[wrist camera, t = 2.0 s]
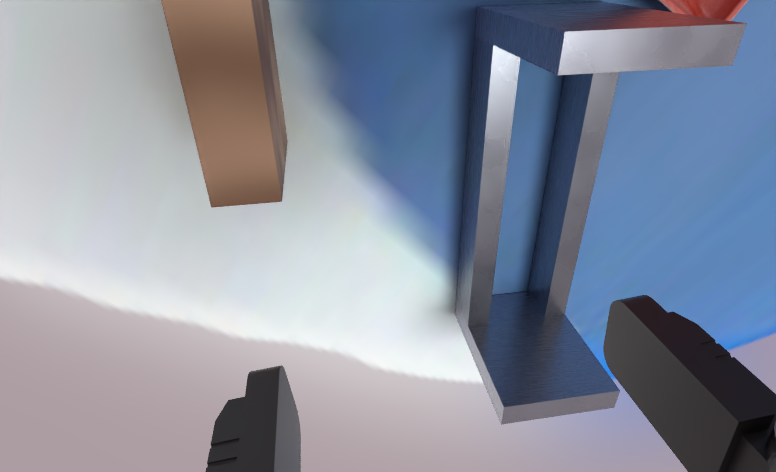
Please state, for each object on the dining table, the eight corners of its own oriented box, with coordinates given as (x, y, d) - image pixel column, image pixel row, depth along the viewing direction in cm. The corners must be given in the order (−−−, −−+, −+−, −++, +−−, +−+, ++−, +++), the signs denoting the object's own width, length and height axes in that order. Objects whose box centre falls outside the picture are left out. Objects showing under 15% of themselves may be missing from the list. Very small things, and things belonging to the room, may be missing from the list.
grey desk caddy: (476, 6, 25) (564, 31, 17) (602, 1, 26) (746, 23, 17) (455, 314, 36) (501, 424, 28) (543, 304, 37) (614, 407, 29)
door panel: (183, -114, 21) (125, -148, 14) (252, -114, 21) (228, -148, 14) (234, 144, 27) (211, 207, 20) (287, 140, 27) (281, 201, 21)
